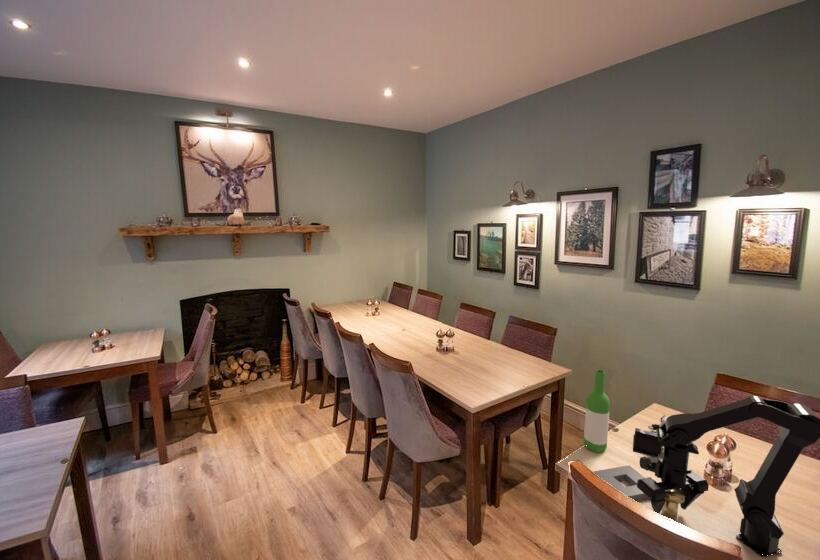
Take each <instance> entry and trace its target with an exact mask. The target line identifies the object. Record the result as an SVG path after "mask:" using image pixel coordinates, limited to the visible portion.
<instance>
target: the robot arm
mask: <svg viewBox="0 0 820 560" xmlns="http://www.w3.org/2000/svg"><path fill="white" fill-rule="evenodd" d="M758 418H760V419H762V420H765V421H768V422H771V423H773V424H775V425H777V426H778V435H777V437H776V439H775V441H774V442H773V443H772V446H771V448H770V449H769V451H768V453H767V455H766V457H765V458H764V460H763V462H762V464H761V465H760V467H759V469H758V471H757V473H756V474H755V476H754V478H753V479H751V480H749V481H746V480H744V479H743V478H740V480H739V483H738V485H737V486H736V487H735V488H734V492H735V497H736V500H737V503H738V505H739V508H740V511H741V513H742V515H743V518H740V519H741V520H740V527H739V533H738V534H736V536H735V537H736V538H737V539H738V540H739V541H740V542H742V543H744V545H746V546H747V547H748V548H750V549H751V550H753V551H754V552H755V553H756V552H757V553H756V554H758V555H759V554H760V555H761V556H760V555H759V556H760V557H762V556H767V555H771V554H775V555H777V554H776V553H779V552H783V550H782V549H781V548H780V547H779V541H780V539H781V538H782V537H783V535H784V534H785V533H784V531H783V529H782V527H781V525H780V523H779V521H778V519H777V517H776V514H775V511H776V498H777V497H776V496H777V493H779V490H780V488H781V487H782V485H783V484H784V482H785V480H786V478H787V476H788V475H789V473H790V472H791V470H792V469H793V467H794V465H795V463H796V461H797V460H798V458H799V457H800V454H801V453H802V452H803V450H804V449H806V448H808V447H810V446H813V445H815V444H816V443H817V442H818V441H819V440H820V417H819V416H818V415H817V413H816V412H815V411H813V410H812V409H811V408H810V407H809V406H808V405H805V404H802V403H788V402H785V401H782V400H778V399H777V400H776V399H772V398H771V399H769V398H764V397H761V396H757V395H749V396H747V397H746V398H743V399H741V400H740V399H739V400H738V401H733V402H730V403H727V404H724V405H720V406H718V407H714V408H712V409H708V410H705V411H701V412H698V413H687V412H686V413H685V412H684V413H678V414H671V416H669V417H668V418H667V419H666V422H665V423H664V424H663V425H662V426H660V425H659V426H660V427H659V428H657V429H656V430H655V431H656V432H655V433H653V432H651V431H649V430H643V429H642V428H638V427H636V428H634V429H635V430H634V434H633V437H632V438H633V439H632V453H636V454H641V455H644V456H640V458H639V463H638V464H639V466H640V468H641V469H643V470H645V471H650V472H651V473H654V476H655V477H656V478H658V479H660V482H658V481H656V480H654V479H653V478H652V477H651V476H649V477H644V478H643V479H638V481H637V488H639V489H640V490H641V491H642V492H643V493H644V494H646V495H647V496H648V497H649V498H648V499H649V501H650V505H651V508H652V511H653V512H654V511H655V512H657V513H659V514H660V513H662V508H663V506H664V504H665V502H666V499H664V498H665V497H666V491H669V490H674V489H675V490H676V489H681V490H682V491H683V492H684V494H685V499H684V502H683V503H680V504H679V505H680V508H681V509H682V510H686V509H687V508H689V506H690V505H692V503H693V502H695V501H696V500H697V499H698V498H699V497H700V496H701V495H703V494H704V493H705V492H709V487H710V485H709V482H708V480H707V479H706V478H704V477H703V476H701V475H699V473H697V472H695V471H694V470H692V469H691V468H689V457H690V454H694V455H699V453H700V452H699V448H698V446H697V445H696V444H695V443H694V442H696V441H697V440H699V439H700V438H701V437H703V436H704V435H705V434H706V433H708V432H711V431H714V430H718V429H722V428H724V427H725V428H726V427H729V426H732V425H736V424H740V423H743V422H746V421H750V420H755V419H758ZM662 446H663V447H662ZM662 448H663V454H662ZM661 454H662V457H659V456H661ZM646 456H648V457H646ZM779 550H780V551H779ZM762 554H763V555H762ZM779 554H780V553H779ZM771 556H772V555H771ZM767 557H768V556H767Z"/></svg>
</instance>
